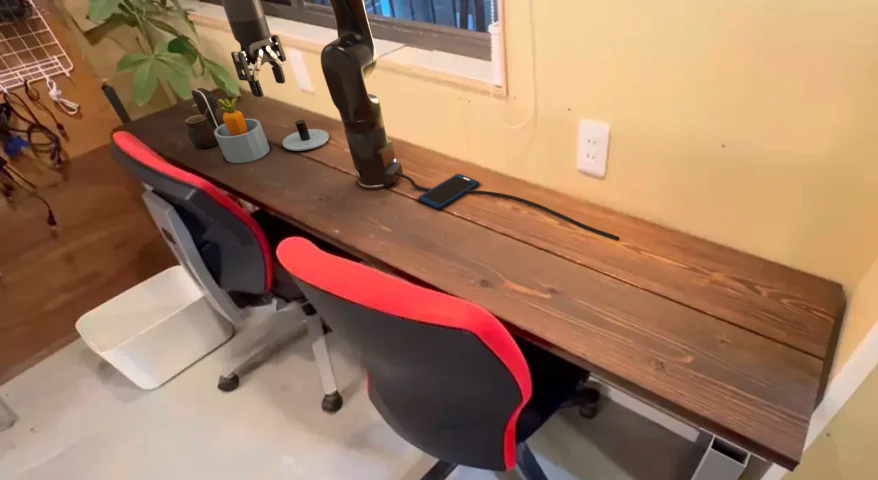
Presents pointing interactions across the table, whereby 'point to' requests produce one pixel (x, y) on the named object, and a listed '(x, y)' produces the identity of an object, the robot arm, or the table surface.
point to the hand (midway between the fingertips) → (270, 89)
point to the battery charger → (206, 105)
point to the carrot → (233, 118)
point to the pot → (243, 143)
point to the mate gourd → (201, 131)
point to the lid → (305, 138)
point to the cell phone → (448, 191)
